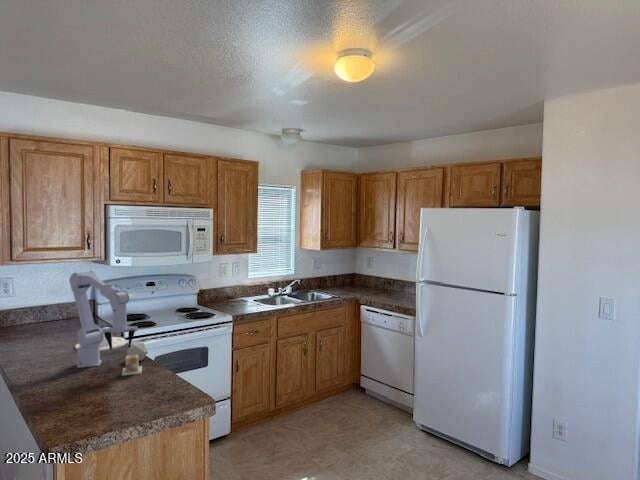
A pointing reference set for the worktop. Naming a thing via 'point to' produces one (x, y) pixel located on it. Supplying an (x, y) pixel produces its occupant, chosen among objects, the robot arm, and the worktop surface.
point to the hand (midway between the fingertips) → (120, 348)
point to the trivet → (132, 371)
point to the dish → (104, 344)
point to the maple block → (132, 363)
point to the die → (138, 350)
